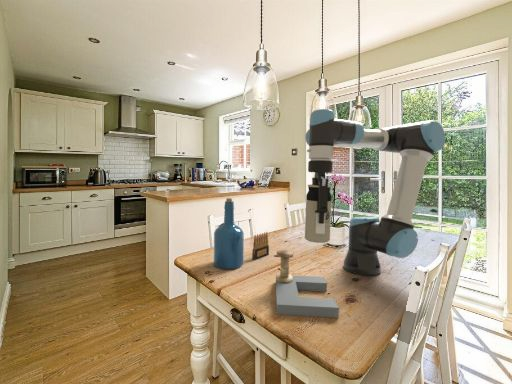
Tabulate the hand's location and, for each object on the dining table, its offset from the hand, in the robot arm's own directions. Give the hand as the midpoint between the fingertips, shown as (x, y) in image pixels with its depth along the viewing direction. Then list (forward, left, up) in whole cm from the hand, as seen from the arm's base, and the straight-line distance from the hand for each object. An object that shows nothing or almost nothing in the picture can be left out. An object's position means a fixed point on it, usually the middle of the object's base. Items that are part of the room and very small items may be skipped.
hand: (317, 230), depth 84 cm
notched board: (+4, 0, -23) cm, 24 cm away
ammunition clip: (+20, -39, -24) cm, 50 cm away
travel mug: (0, 0, -3) cm, 3 cm away
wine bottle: (+34, -27, -24) cm, 49 cm away
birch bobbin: (+10, -7, -20) cm, 24 cm away
